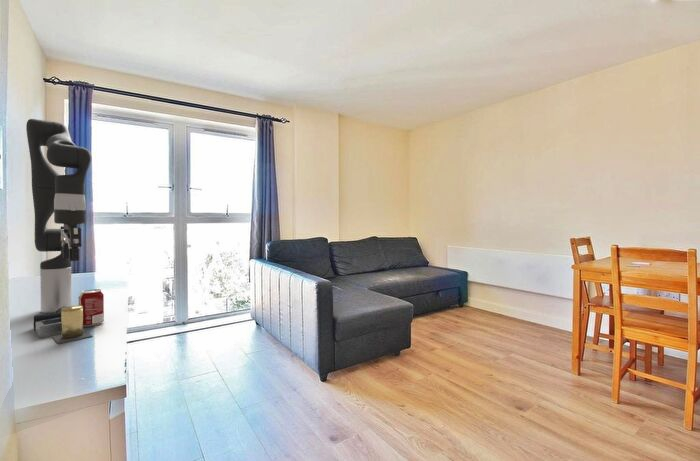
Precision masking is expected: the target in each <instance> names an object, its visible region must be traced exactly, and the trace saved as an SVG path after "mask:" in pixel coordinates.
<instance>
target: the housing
mask: <svg viewBox="0 0 700 461" xmlns="http://www.w3.org/2000/svg"><path fill="white" fill-rule="evenodd" d="M35 324H36V330H35V333H36V335H37V336H38V338H40V339H43V338H47V337H53V336H58V335H62V320H61V317H60V318H54V319H48V320H42V321H36V322H35Z"/></svg>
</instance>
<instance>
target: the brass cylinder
mask: <svg viewBox="0 0 700 461" xmlns="http://www.w3.org/2000/svg"><path fill="white" fill-rule="evenodd" d="M61 320H62V334H61V335H62V339H72V338H77V337H80V336H82V335H83V331H84V327H83V306H81V305H79V304H78V305H72V306H68V307H64V308H62V309H61Z"/></svg>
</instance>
